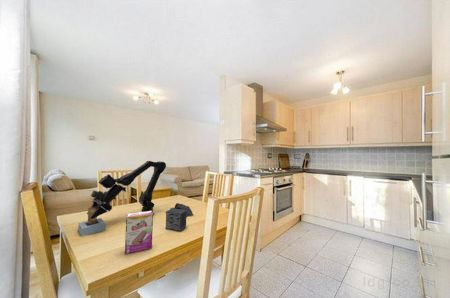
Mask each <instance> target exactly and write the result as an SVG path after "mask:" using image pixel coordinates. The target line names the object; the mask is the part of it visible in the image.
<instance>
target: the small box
mask: <svg viewBox="0 0 450 298" xmlns="http://www.w3.org/2000/svg"><path fill="white" fill-rule="evenodd" d="M186 211H187V210H180V209H170V208H169V209H168V210H166V211H165V230H168V231H174V232H178V233H179V232H180V233H182V231H184V230H185V229H186V228H187V216H186Z"/></svg>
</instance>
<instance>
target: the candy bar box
mask: <svg viewBox="0 0 450 298" xmlns="http://www.w3.org/2000/svg"><path fill="white" fill-rule="evenodd" d="M153 213H154V211H153V212H152V211H146V212H142V211H141V212H140V211H139V212H132V213H131V212H130V213H126V217H125V218H126V220H125V239H124V255H128V254H134V253H138V252H141V251H142V252H143V251H147V250H150V249H152V248H153V231H154V229H153V226H154V225H153V224H154V214H153Z"/></svg>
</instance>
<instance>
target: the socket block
mask: <svg viewBox="0 0 450 298" xmlns="http://www.w3.org/2000/svg"><path fill="white" fill-rule="evenodd" d="M77 231H78V232H79V234H80V236H81V237H85V236H89V235H91V234H92V235H93V234H97V233H100V232H103V231H106V222H105V221H104V219H102V218H101V217H100V218H97V224H93V225H89V226H88V220H87V221H82V222H78V230H77Z"/></svg>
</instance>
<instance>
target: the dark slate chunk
mask: <svg viewBox="0 0 450 298" xmlns="http://www.w3.org/2000/svg"><path fill="white" fill-rule="evenodd" d="M170 209H180V210H187V211H186V217H193V216H194V213H193V211H192V209H191V207H190V206H188V205H185V204H183V203H179V202H177V203H175V204H174V207H171V208H169V210H170Z"/></svg>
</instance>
